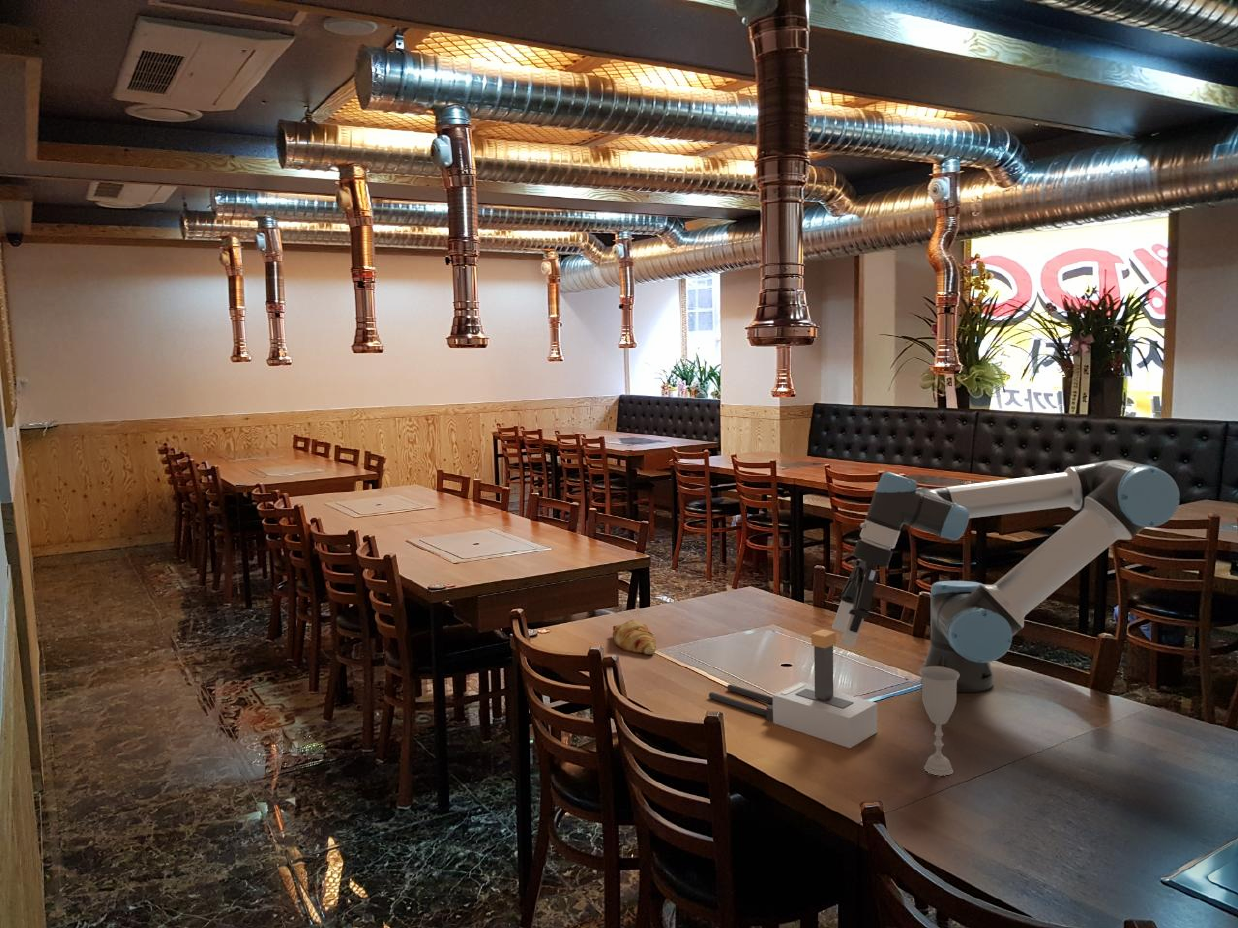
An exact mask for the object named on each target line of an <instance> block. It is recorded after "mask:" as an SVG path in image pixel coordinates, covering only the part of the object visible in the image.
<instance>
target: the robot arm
mask: <svg viewBox="0 0 1238 928" xmlns="http://www.w3.org/2000/svg"><path fill="white" fill-rule="evenodd" d="M917 486H918V483H917V481H916V480H914V479H912V478H908V477H905V476H902V475H900V474H896V473H893V472H890V471H887V472H883V473H882V474H881V477H880V480H879V481H878V483H877V485H876V487H875V489H874V493H873V496H872V500H871V502H870V506H869V508H868V510H867V513H866V517H865V519H864V522H861V523H860V524H859V526H860V528H862V529H861V530H860V533H859V537H860V538H861V539H858V540H856V543H855V547H854V548H853V549H854V550H853V552H852V554H853V556H854V557H855V558H857V560H855V564H854V567H853V569H852V571H851V573H850V575H849V577H848V579H847V581H846V583H845V586H844V587H843V590H842V591H841V592H840V593H841V600H840V602H839V606H838V608H837V612H836V614H835V617H834V619H833V622H832V625H831V629H833V630H836V631H839V632H841V633H842V637H841V639H840V642H839V643H840V644H841V645H843V646H846V647H849V648H852V649H854V648H855V645H856V642H857V639H858V637H859V634H860V630H861V628H862V625H863V622H864V620H865V618H866V619H867V618H868V617H869V616H870V610H871V606H872V602H873V597H874V593H875V590H876V584H877V581H878V578H879V576H880V572H879V571H878V570H877V567H882V568H888V566H889V563H890V561H891V558H892V555H893V552H892V550H893V549H895V548H896V544H897V542H898V539H899V537H900V534H901V530H902V527H903V525H906V526H908V527H913V528H915V529H918V530H921V531H923V532H927V533H929V534H932V535H935V536H937V537H940V538H941V539H943V538H944V539H948V540H950V541H958V540H960V538H962V537H963V536H964V533H965V532H966V530H967V527H968V524H969V520H970V519H973V518H974V519H975V518H981V517H982V518H983V517H984V518H985V517H991V516H1000V515H1007V514H1008V515H1010V514H1019V513H1027V512H1033V511H1034V512H1035V511H1041V510H1043V511H1044V510H1051V509H1059V508H1070V509H1072V510H1073V511H1080V512H1078V513H1077V514H1076V515H1075V516H1073V518H1071V519H1070V520H1069V521H1068V522H1066V523H1065V524H1064V525H1063V526H1061V528H1060V529H1059V528H1058V530H1057V531H1056V532H1054V533H1053V534H1052V535H1051V536H1050V537H1049V538H1047V539H1046V540H1045V541H1044V542H1042V543H1041V544H1040V545H1039V546H1037V548H1035V549H1034V550H1033V551H1032V552H1030V553H1029V554H1028V555H1027V556H1026V557H1024V558H1023V559H1022V560H1020V562H1019V563H1017V564H1016V565H1015V566H1014V567H1013V568H1011V569H1010V570H1009V571H1008V572H1007V573H1006V574H1005V575H1003V576H1002V577H1001V578H999V579H998V580H997V581H996V582H995V583H993V584H983V583H981V582H977V581H966V580H944V581H943V580H941V581H936V582H934V583H932V585H931V588H930V594H929V597H930V646H929V649H928V651H927V654H926V656H925V660H924V663H923V666H922V668H924V667H929V666H939V667H946V668H950V669H953V670H955V671H957V672H958V673H959V675H960V676H959V678H958V680H957V689H956V693H977V692H979V693H980V692H983V691H987V690H990V689H991V688H992V687H993V686H994V673H993V670H992V669H993V668H992V666H991V664H990V663H992V662H995V661H997V660H998V659H1000V658H1002V657H1003V656H1005V655H1006V653H1007V652H1008V651H1009V649H1010V648H1011V645H1012V642H1013V641H1012V640H1013V637H1014V636H1015V635H1016V634H1017V633H1019V631H1021V630H1022V629H1023V628H1024V627H1025V617H1026V615H1028V614H1030V612H1031V611H1032V610H1034V609H1035V608H1036V607H1037V606H1039V605H1040V604H1041V603H1042V602H1043V601H1044V600H1046V599H1047V598H1048V597H1050V596H1051V595H1052V594H1053V593H1054V592H1055V591H1057V590H1058V589H1059V588H1060V587H1061V586H1063V585H1064V584H1065V583H1066V582H1067V581H1069V580H1070V579H1071V578H1072V577H1074V576H1075V575H1076V574H1078V573H1079V571H1081V570H1082V569H1083V568H1085V566H1087V565H1088V564H1089V563H1091V562H1092V561H1093V560H1094V559H1096V558H1097V557H1098V556H1099V555H1100V554H1101V553H1103V552H1104V551H1105V550H1107V549H1108V548H1109V547H1110V546H1111V545H1112V544H1114V543H1116V541H1118V540H1126V541H1127V540H1132V539H1133V538H1134V537H1135V536H1136V535H1138V534H1140V532H1141V531H1143V530H1144V529H1145V528H1153V527H1158V526H1161V525H1163V524H1165V523H1167V522H1168V521H1170V520H1171V519H1172V518H1173V516H1174V515H1175V514H1176V512H1177V511H1178V509H1179V505H1180V490H1179V486H1178V485H1177V483H1176V481H1175V479H1174V478H1173V477H1172V476H1171V475H1170V474H1169V473H1167V472H1166V471H1164V470H1163V469H1160V468H1159V467H1156V466H1153V465H1151V464H1142V463H1139V462H1136V461H1135V462H1134V461H1132V460H1127V459H1112V460H1110V459H1109V460H1105V461H1099V462H1092V463H1087V464H1082V465H1076V466H1068V467H1067V468H1066V469H1064V471H1063V472H1058V473H1049V474H1048V473H1047V474H1043V475H1042V474H1041V475H1033V476H1025V477H1018V478H1017V477H1016V478H1010V479H1009V478H1008V479H1001V480H994V481H993V480H992V481H985V482H979V483H969V484H968V483H967V484H962V485H955V486H954V485H953V486H947V487H938V488H927V487H917ZM891 549H892V550H891ZM876 570H877V571H876Z"/></svg>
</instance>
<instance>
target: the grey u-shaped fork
mask: <svg viewBox="0 0 1238 928" xmlns="http://www.w3.org/2000/svg"><path fill="white" fill-rule="evenodd" d="M726 689H727V691H729V692H733V693H736V694H738V695H742V696H745V697H748V698H751V699H755V700H758V701H761V702H764V703H768V704H771V705H769V706H767V707H766V709H765V708H763V707H759V706H757V705H753V704H751V703H748V702H744V701H741V700H738V699H734V698H731V697H728V696H725V695H722V694H720V693H716V692H712V691H711V692H709V693H708V698H709V699H711V700H715V701H718V702H720V703H723V704H725V705H730V706H733V707H735V708H738V709H742V710H744V711H748V712H751V713H754V714H757V715H760V716H763V717H766V720H767V721H770V722H773V696H770V695H766V694H763V693H761V692H760V693H759V692H757V691H754V690H751V689H747V688H743V687H740V686H737V685H734V684H728V685H727V686H726Z"/></svg>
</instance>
